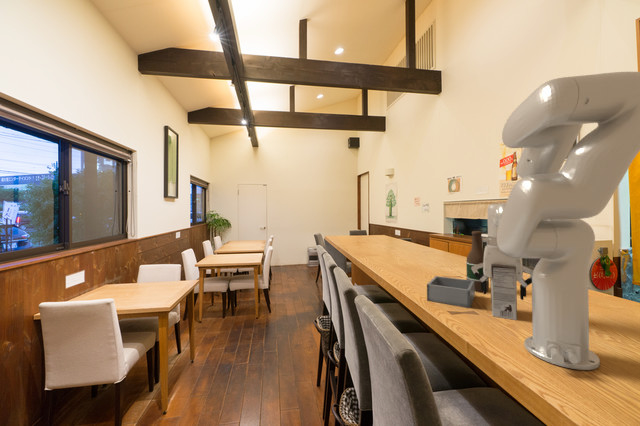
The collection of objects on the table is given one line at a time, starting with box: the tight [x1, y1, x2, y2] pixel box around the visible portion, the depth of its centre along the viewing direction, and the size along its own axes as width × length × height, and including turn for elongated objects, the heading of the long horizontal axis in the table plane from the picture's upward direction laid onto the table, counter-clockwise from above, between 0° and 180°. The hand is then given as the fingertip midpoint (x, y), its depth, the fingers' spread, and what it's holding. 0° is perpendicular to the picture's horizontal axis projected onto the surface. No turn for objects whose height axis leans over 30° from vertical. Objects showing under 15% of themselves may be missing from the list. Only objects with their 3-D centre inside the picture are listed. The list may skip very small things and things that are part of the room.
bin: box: [426, 275, 476, 309], centre depth 98 cm, size 14×14×6 cm
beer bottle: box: [466, 230, 490, 293], centre depth 107 cm, size 8×8×24 cm
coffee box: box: [489, 264, 518, 321], centre depth 83 cm, size 9×6×16 cm
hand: (502, 295), depth 83 cm, fingers open, 9 cm apart
